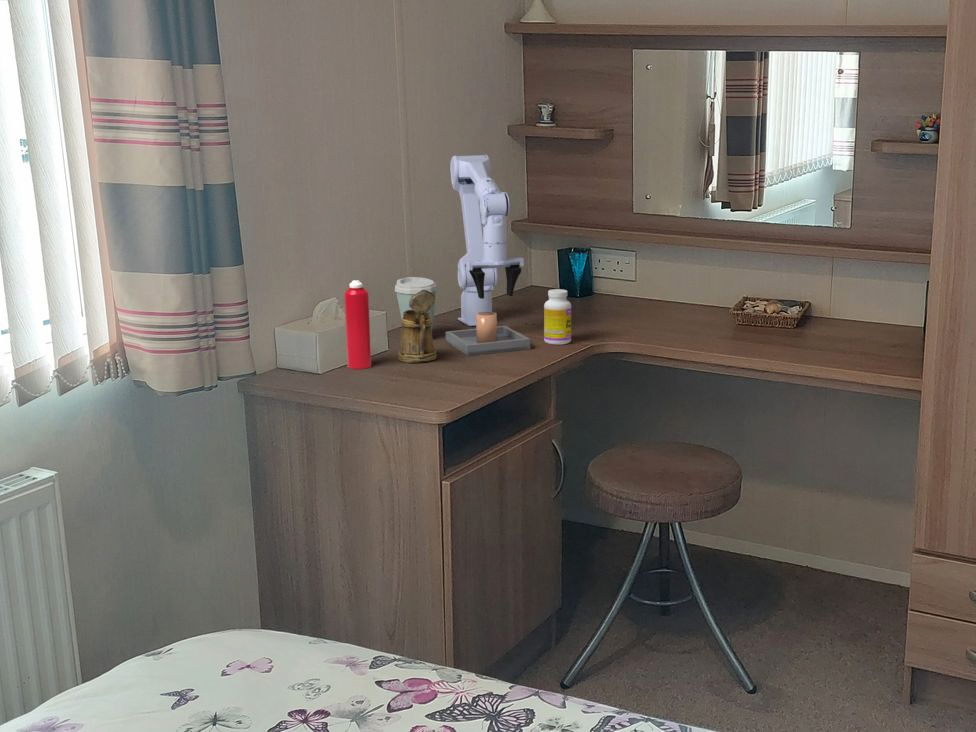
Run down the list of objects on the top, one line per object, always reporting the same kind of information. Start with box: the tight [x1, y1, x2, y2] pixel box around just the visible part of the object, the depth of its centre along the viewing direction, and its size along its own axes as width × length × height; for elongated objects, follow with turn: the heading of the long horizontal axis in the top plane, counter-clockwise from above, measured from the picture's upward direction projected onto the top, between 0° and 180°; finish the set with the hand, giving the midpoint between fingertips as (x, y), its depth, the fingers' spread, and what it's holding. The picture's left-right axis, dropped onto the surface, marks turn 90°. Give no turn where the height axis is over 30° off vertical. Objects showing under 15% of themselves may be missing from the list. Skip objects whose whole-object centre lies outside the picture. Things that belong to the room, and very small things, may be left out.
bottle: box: [343, 279, 372, 370], centre depth 267 cm, size 5×5×20 cm
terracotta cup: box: [475, 311, 498, 343], centre depth 287 cm, size 5×5×7 cm
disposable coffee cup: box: [394, 276, 438, 333], centre depth 293 cm, size 11×11×15 cm
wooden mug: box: [397, 290, 437, 364], centre depth 271 cm, size 9×14×18 cm, turn 17°
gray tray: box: [445, 325, 531, 357], centre depth 287 cm, size 16×16×2 cm
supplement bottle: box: [543, 288, 572, 346], centre depth 288 cm, size 7×7×13 cm
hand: (495, 296), depth 293 cm, fingers open, 7 cm apart
